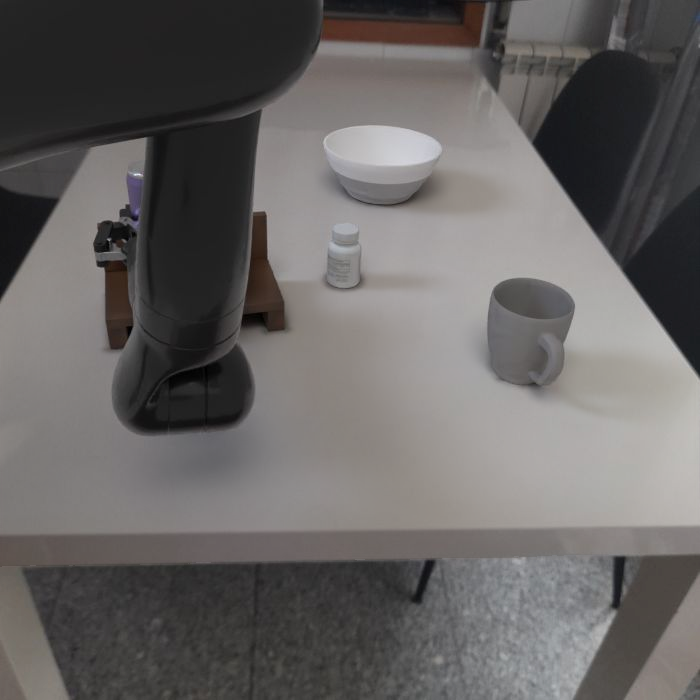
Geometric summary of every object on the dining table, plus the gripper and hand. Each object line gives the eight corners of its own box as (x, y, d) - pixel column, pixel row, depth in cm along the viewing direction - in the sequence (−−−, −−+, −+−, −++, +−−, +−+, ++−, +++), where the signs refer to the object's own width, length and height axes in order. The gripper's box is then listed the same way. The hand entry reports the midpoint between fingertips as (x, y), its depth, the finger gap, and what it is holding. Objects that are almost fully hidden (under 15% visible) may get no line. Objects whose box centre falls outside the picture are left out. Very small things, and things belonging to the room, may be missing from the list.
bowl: (303, 179, 125) (303, 132, 120) (399, 165, 132) (403, 120, 128) (355, 224, 111) (358, 173, 106) (459, 205, 118) (466, 157, 114)
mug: (466, 351, 84) (479, 279, 79) (535, 344, 86) (553, 274, 80) (507, 417, 75) (524, 341, 69) (584, 408, 76) (607, 333, 71)
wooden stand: (110, 349, 81) (96, 271, 75) (109, 295, 90) (97, 222, 85) (284, 329, 86) (284, 255, 80) (266, 280, 95) (265, 210, 90)
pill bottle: (345, 269, 99) (348, 218, 94) (366, 283, 96) (369, 230, 92) (320, 278, 96) (321, 226, 92) (340, 292, 94) (343, 239, 89)
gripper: (243, 241, 67) (221, 174, 81) (82, 253, 64) (86, 182, 77) (246, 309, 72) (224, 235, 85) (95, 324, 68) (97, 245, 81)
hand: (158, 210), depth 81 cm, fingers closed on beverage can, 6 cm apart
